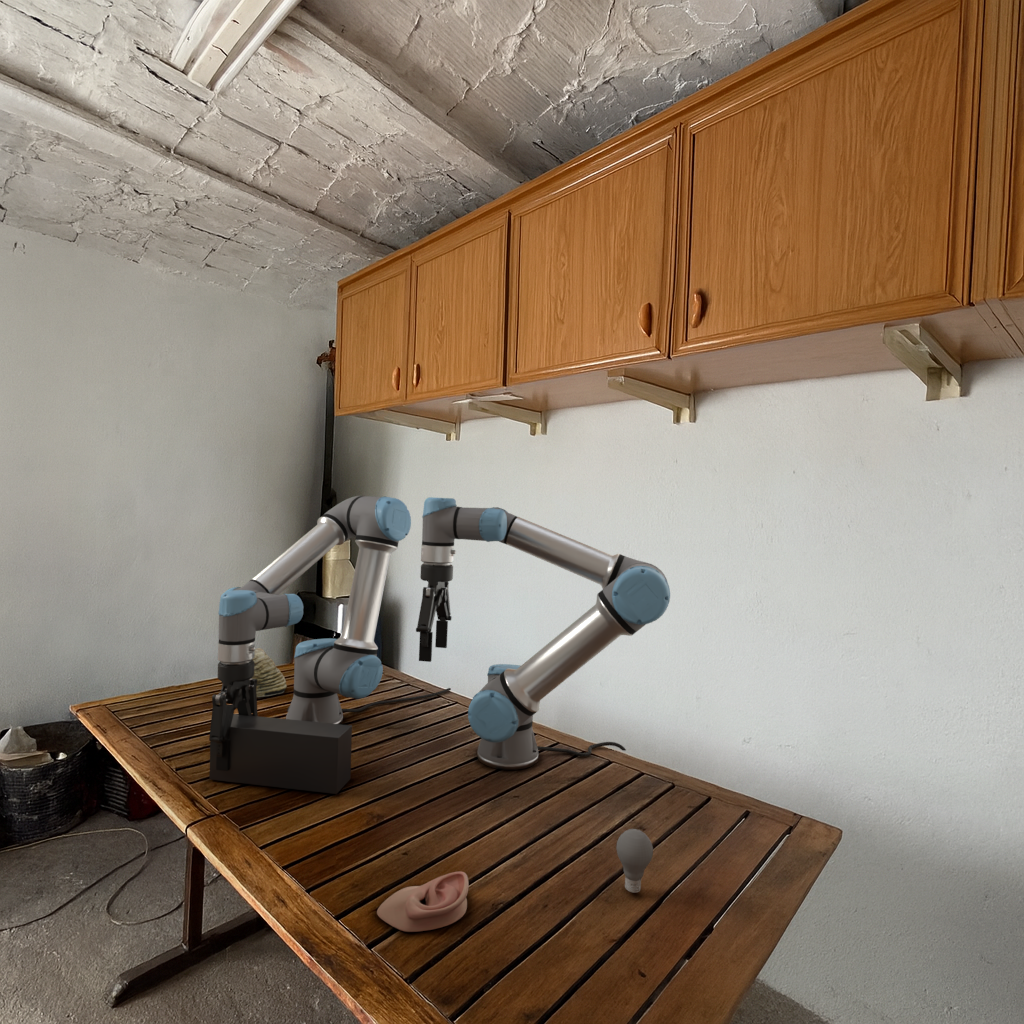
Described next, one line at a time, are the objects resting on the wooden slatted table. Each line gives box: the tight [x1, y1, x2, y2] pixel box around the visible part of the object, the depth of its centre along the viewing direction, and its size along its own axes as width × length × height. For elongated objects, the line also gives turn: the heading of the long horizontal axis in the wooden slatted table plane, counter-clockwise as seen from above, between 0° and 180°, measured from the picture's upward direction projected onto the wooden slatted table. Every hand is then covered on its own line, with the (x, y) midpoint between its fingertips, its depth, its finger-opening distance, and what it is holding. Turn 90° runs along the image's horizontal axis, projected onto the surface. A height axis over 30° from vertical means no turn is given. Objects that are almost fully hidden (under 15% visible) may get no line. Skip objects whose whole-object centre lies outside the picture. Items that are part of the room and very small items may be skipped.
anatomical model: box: [376, 871, 470, 933], centre depth 99 cm, size 13×4×12 cm
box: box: [208, 713, 353, 795], centre depth 140 cm, size 30×7×12 cm, turn 81°
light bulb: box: [615, 828, 654, 894], centre depth 106 cm, size 6×6×10 cm
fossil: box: [251, 647, 288, 698], centre depth 198 cm, size 9×18×15 cm, turn 132°
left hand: (233, 761), depth 142 cm, fingers closed on box, 7 cm apart
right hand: (433, 654), depth 148 cm, fingers open, 13 cm apart
